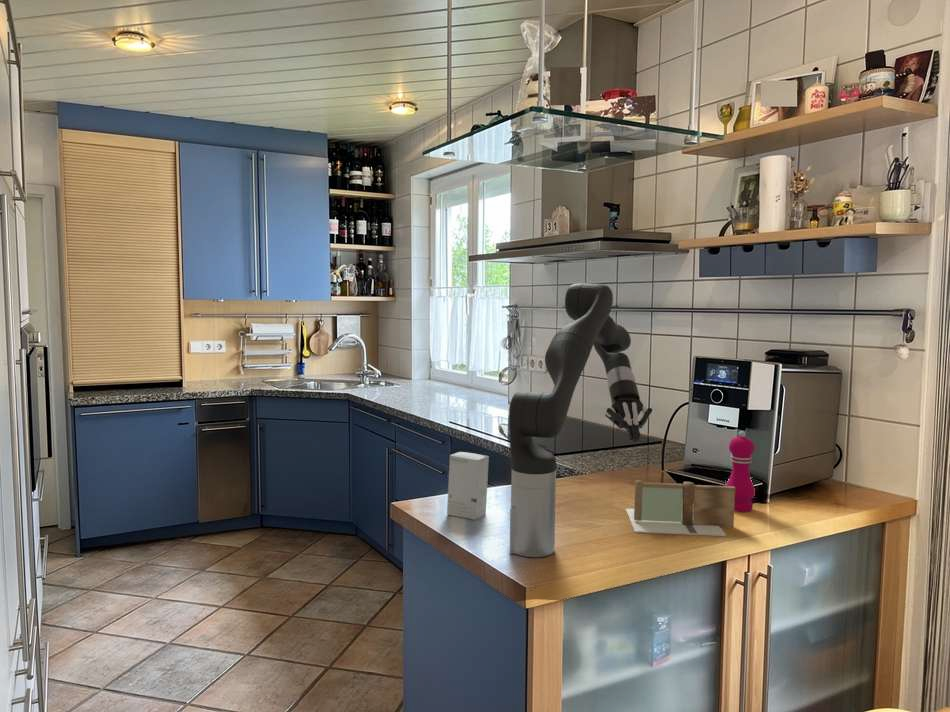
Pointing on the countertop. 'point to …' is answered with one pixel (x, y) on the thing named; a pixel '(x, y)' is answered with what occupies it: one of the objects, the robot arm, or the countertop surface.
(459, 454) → the skincare box
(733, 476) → the pepper mill
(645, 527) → the card
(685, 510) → the fixed fence
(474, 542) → the countertop surface
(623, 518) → the countertop surface
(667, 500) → the swing panel
